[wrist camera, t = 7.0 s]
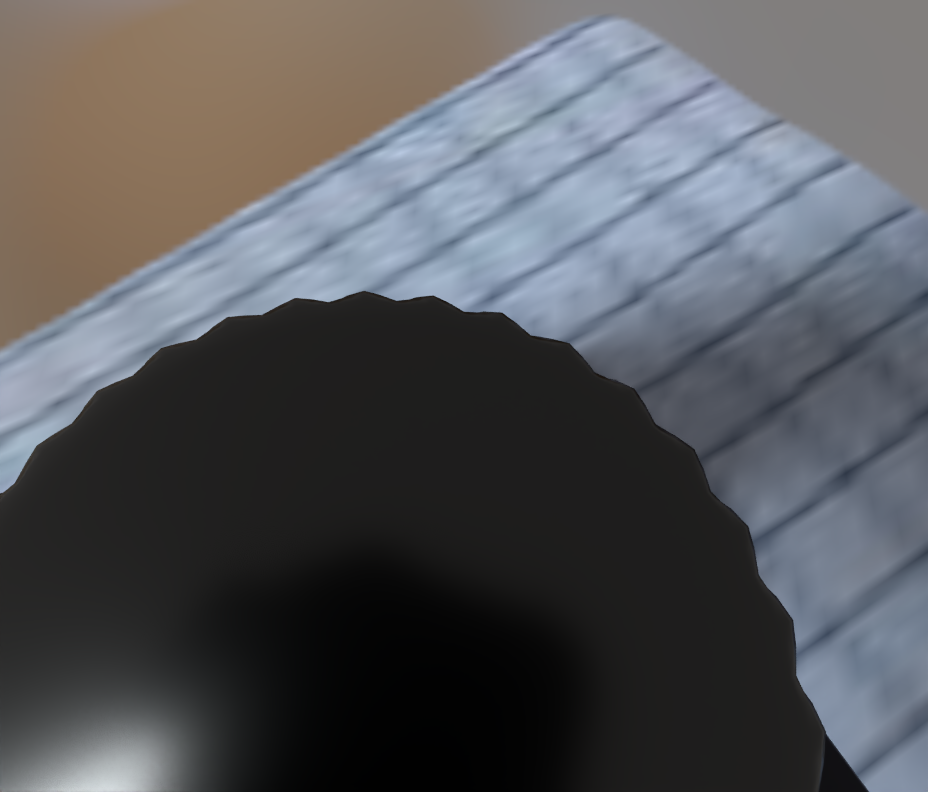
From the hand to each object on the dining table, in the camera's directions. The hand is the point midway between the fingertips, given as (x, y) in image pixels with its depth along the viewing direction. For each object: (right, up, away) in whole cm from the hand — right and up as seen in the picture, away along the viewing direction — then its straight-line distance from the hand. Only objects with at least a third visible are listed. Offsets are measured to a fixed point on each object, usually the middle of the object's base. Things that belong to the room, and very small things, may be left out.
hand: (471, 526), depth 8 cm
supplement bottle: (0, -3, +6) cm, 7 cm away
